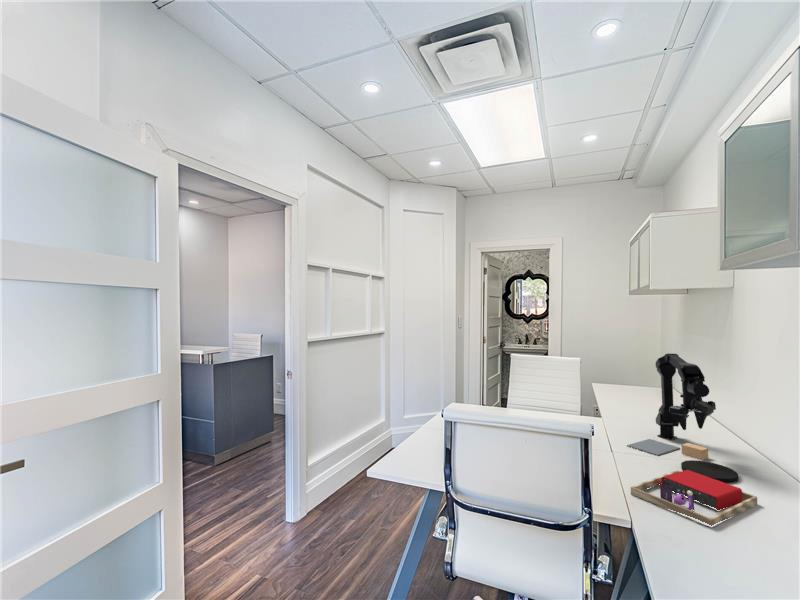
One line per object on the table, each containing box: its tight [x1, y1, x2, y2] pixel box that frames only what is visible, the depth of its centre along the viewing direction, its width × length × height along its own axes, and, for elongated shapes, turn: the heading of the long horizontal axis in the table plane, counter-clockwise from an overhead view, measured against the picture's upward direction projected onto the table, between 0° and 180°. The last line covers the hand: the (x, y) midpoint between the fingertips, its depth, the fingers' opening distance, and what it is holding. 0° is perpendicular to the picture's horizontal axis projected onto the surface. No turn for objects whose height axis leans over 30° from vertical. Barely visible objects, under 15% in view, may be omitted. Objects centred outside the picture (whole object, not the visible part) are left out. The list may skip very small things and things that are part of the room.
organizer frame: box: [630, 469, 758, 526], centre depth 134 cm, size 30×25×2 cm
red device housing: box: [662, 470, 744, 510], centre depth 136 cm, size 18×14×5 cm
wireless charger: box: [680, 459, 739, 484], centre depth 154 cm, size 18×18×2 cm
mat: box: [626, 438, 681, 457], centre depth 183 cm, size 18×14×1 cm
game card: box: [659, 484, 695, 511], centre depth 129 cm, size 7×5×9 cm
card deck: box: [681, 442, 709, 461], centre depth 172 cm, size 5×8×4 cm, turn 27°
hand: (692, 429), depth 170 cm, fingers open, 9 cm apart
